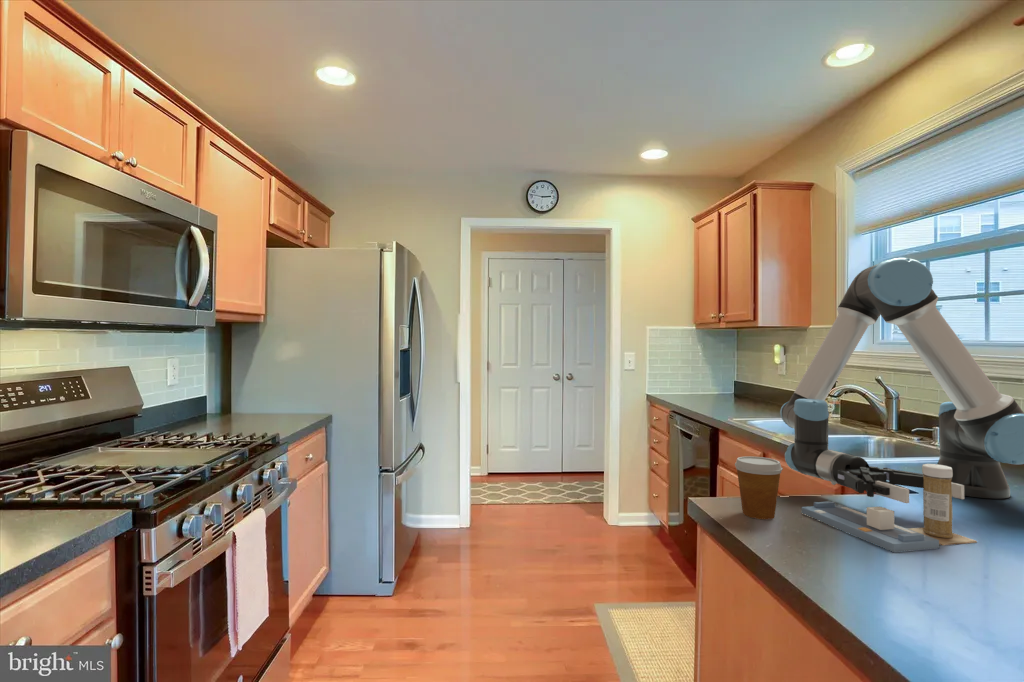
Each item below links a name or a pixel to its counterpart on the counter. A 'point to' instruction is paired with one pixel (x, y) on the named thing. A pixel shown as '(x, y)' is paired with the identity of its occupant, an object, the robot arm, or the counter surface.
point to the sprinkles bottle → (937, 500)
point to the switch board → (869, 528)
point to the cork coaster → (947, 541)
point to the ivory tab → (880, 518)
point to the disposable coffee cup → (758, 485)
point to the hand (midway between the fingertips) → (935, 494)
